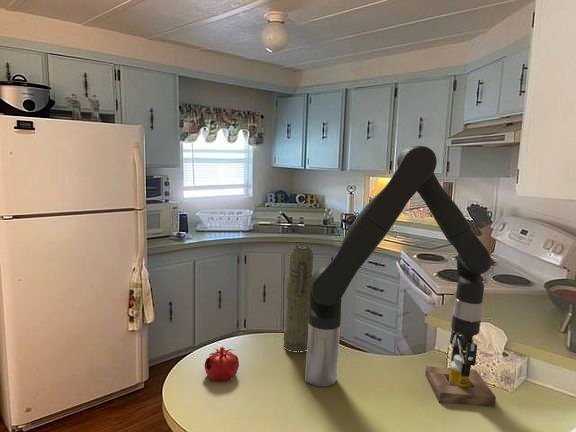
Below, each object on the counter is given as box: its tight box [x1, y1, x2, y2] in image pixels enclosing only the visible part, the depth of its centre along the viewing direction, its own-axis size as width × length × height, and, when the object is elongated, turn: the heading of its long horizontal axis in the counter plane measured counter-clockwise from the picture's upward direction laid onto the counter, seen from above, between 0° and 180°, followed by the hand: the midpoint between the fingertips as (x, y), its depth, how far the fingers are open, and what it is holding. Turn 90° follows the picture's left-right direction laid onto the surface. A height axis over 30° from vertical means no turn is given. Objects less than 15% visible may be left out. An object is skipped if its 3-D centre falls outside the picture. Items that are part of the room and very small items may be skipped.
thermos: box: [283, 245, 314, 352], centre depth 146 cm, size 9×12×35 cm
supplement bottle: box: [449, 355, 470, 387], centre depth 126 cm, size 5×5×10 cm
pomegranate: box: [204, 346, 240, 383], centre depth 127 cm, size 10×10×9 cm
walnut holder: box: [425, 365, 497, 408], centre depth 127 cm, size 15×15×3 cm
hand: (459, 368), depth 126 cm, fingers open, 8 cm apart
